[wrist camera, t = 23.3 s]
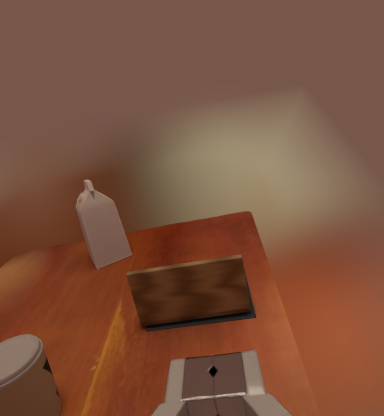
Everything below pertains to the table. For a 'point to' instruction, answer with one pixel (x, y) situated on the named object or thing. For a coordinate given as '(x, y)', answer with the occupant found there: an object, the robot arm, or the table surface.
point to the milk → (101, 227)
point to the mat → (208, 318)
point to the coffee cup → (26, 379)
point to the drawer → (190, 290)
